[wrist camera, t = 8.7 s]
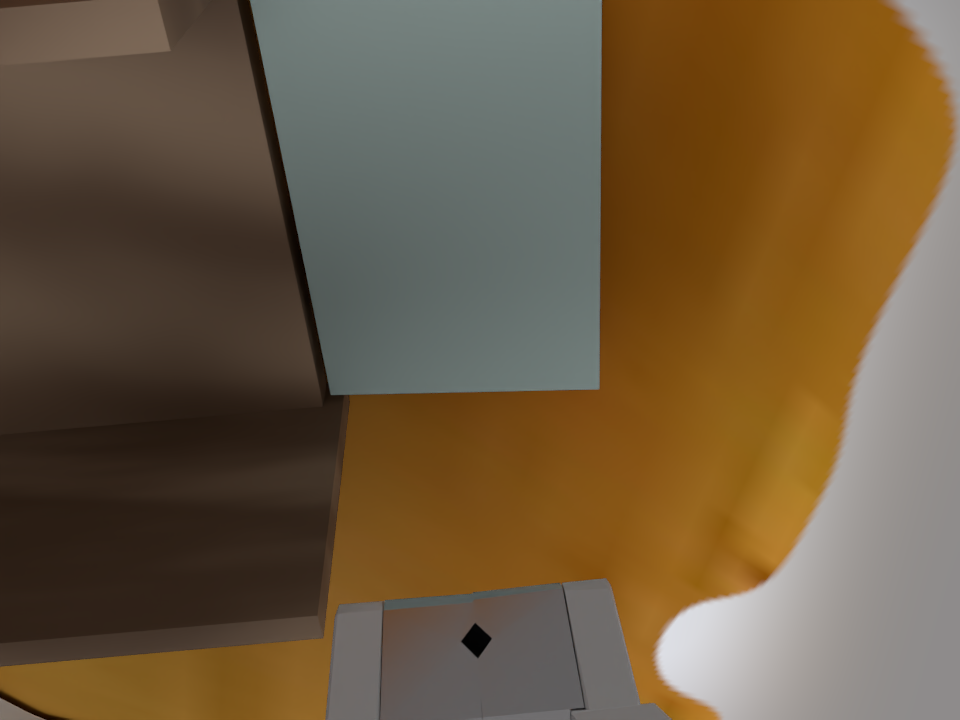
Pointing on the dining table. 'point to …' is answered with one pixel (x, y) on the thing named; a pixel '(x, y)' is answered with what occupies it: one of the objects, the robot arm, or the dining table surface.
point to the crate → (153, 342)
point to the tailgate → (444, 187)
